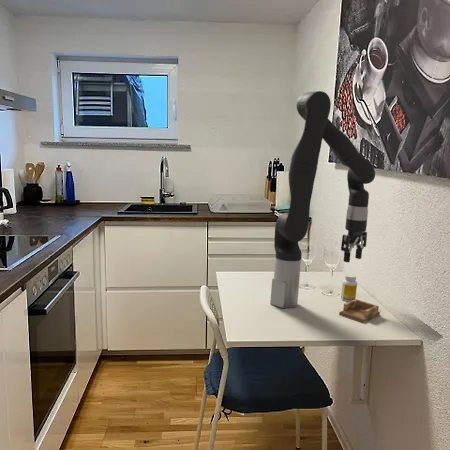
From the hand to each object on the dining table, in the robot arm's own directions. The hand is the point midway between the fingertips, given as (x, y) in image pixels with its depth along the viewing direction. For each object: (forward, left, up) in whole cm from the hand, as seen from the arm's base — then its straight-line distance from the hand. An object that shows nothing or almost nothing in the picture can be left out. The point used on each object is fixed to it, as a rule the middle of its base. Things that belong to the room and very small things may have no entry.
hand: (352, 260), depth 177 cm
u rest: (-11, -11, -16) cm, 22 cm away
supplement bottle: (0, 0, -16) cm, 16 cm away
